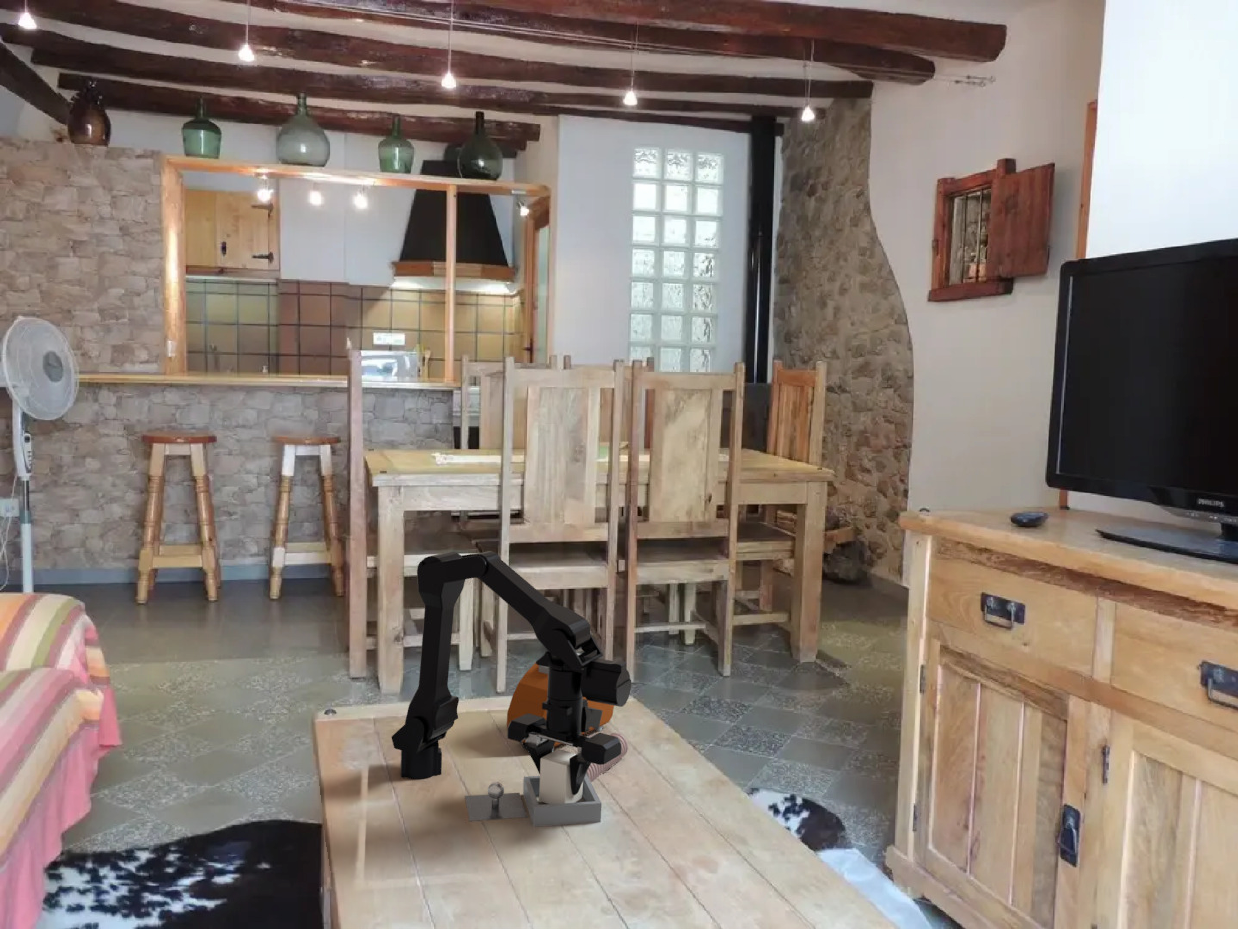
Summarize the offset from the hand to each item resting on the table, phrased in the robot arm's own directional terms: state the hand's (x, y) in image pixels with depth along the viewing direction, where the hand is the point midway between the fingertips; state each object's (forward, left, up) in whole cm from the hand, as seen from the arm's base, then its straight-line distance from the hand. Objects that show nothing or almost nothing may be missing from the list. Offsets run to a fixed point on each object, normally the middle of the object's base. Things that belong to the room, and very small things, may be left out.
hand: (561, 789), depth 153 cm
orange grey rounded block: (+6, +33, -4) cm, 34 cm away
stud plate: (-10, +2, -4) cm, 11 cm away
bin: (0, 0, -4) cm, 4 cm away
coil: (+10, +16, -4) cm, 19 cm away
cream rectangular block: (0, 0, -2) cm, 2 cm away
